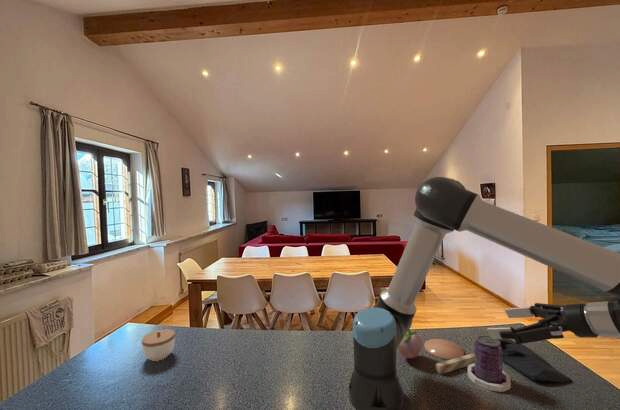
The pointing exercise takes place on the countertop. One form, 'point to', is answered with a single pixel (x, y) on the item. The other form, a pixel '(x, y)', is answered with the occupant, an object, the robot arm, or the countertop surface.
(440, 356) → the coaster
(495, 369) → the beverage can
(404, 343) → the decorative fruit
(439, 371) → the wooden bar
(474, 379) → the ring
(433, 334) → the countertop surface
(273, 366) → the countertop surface
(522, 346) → the dark slate chunk
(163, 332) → the lidded jar
